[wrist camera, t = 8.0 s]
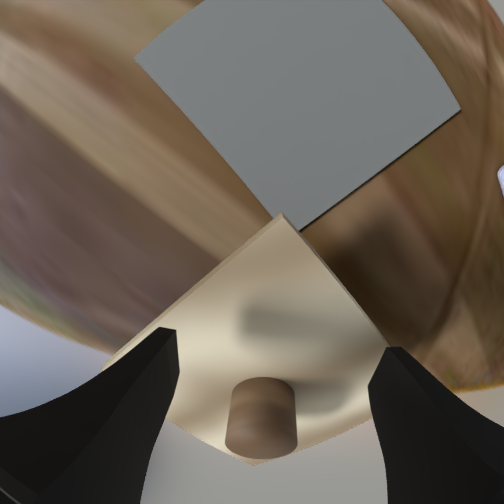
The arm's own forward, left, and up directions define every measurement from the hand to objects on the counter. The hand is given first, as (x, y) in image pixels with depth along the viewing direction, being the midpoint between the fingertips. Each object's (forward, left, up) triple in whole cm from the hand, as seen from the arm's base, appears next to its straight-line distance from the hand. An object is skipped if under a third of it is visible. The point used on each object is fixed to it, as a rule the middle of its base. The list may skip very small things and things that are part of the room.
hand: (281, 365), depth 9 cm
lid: (-3, +4, -3) cm, 6 cm away
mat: (+8, -9, -10) cm, 16 cm away
